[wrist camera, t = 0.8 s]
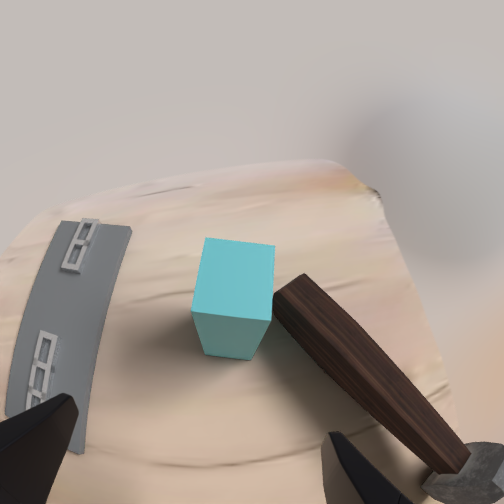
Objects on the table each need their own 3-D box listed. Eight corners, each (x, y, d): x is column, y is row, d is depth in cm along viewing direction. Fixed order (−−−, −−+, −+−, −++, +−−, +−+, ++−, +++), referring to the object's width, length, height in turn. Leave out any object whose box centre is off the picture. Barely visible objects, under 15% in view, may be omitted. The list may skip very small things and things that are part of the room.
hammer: (260, 331, 28) (434, 504, 13) (266, 268, 19) (505, 508, 4) (295, 306, 30) (459, 471, 15) (314, 237, 21) (530, 461, 6)
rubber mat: (84, 453, 15) (79, 454, 15) (10, 415, 15) (4, 414, 14) (132, 231, 29) (129, 226, 28) (64, 225, 28) (61, 220, 27)
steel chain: (47, 429, 15) (42, 428, 14) (29, 419, 15) (24, 419, 14) (101, 223, 28) (99, 219, 27) (84, 222, 27) (82, 218, 27)
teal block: (251, 360, 23) (271, 320, 13) (205, 354, 22) (190, 310, 13) (255, 312, 25) (274, 245, 16) (211, 307, 25) (205, 237, 16)
